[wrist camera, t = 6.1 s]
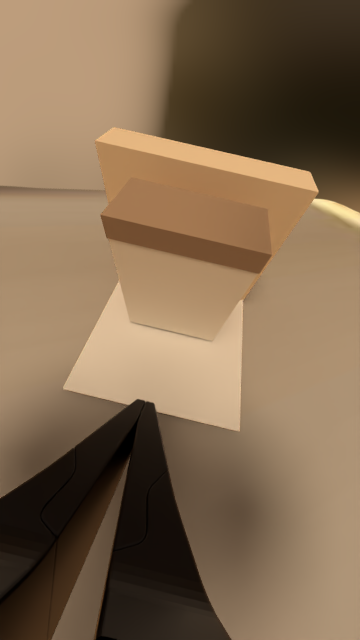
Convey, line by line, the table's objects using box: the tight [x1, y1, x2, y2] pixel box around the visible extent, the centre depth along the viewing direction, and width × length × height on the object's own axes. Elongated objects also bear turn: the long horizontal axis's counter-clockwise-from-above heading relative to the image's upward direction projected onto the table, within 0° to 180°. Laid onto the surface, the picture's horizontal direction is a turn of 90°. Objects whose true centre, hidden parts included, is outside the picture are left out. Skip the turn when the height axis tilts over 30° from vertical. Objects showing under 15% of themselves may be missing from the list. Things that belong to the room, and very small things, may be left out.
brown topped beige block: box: [101, 177, 272, 341], centre depth 13 cm, size 4×8×10 cm, turn 78°
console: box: [63, 127, 319, 432], centre depth 13 cm, size 16×14×12 cm
